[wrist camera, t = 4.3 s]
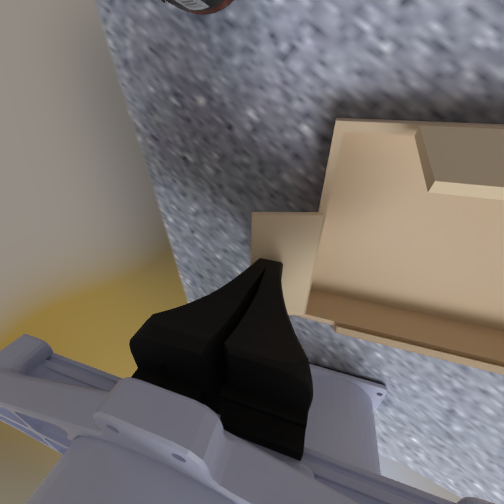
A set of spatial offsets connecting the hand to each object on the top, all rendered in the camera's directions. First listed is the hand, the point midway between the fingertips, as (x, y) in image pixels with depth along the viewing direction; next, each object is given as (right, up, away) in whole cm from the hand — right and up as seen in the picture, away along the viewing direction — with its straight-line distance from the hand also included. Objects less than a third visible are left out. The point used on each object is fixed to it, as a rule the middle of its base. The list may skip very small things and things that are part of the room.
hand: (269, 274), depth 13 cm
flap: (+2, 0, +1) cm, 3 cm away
